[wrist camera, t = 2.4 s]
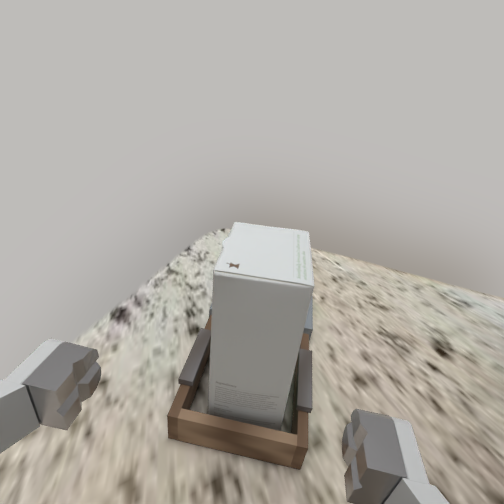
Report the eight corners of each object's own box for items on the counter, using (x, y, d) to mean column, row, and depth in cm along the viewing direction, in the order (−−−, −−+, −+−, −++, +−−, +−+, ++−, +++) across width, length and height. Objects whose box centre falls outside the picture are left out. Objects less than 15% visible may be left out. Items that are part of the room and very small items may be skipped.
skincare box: (278, 441, 25) (320, 291, 18) (200, 426, 26) (207, 272, 18) (282, 361, 33) (313, 229, 25) (221, 349, 33) (233, 216, 25)
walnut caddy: (305, 354, 34) (311, 330, 32) (302, 470, 24) (312, 444, 22) (207, 334, 35) (209, 309, 33) (166, 437, 25) (164, 410, 23)
